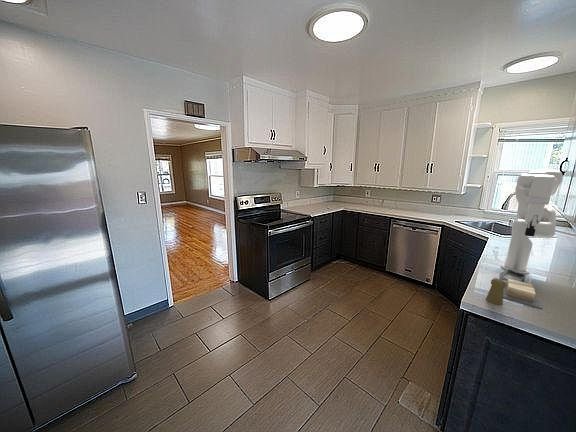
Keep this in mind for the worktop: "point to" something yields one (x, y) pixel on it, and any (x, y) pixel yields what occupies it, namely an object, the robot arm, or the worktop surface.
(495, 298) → the cork
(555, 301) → the worktop surface
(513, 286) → the maple plaque
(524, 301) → the rubber mat
